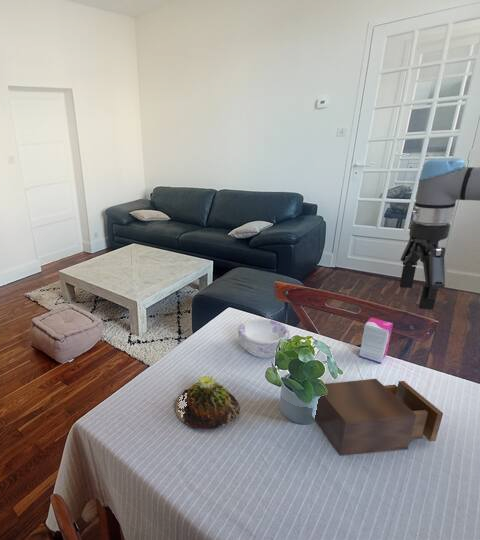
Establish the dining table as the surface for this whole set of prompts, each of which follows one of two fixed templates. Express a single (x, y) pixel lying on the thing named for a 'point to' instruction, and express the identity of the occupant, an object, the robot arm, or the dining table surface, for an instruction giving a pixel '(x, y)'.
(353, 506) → the dining table surface
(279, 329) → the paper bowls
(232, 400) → the cactus
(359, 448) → the cabinet
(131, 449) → the dining table surface
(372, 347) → the supplement box
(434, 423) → the drawer
